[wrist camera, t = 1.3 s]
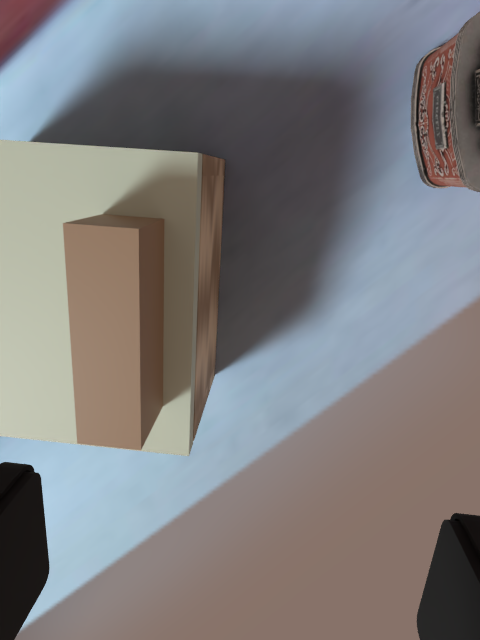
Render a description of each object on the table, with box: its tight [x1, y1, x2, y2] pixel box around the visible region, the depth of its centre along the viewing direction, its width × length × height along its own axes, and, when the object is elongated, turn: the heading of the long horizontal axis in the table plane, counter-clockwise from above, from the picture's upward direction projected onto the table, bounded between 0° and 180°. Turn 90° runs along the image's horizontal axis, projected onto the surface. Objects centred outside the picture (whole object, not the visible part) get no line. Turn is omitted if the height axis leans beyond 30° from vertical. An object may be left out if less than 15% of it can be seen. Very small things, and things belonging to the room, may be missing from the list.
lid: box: [0, 140, 202, 456], centre depth 21 cm, size 16×14×5 cm
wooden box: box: [193, 154, 225, 441], centre depth 28 cm, size 16×14×9 cm
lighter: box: [411, 12, 480, 192], centre depth 23 cm, size 8×3×10 cm, turn 10°
